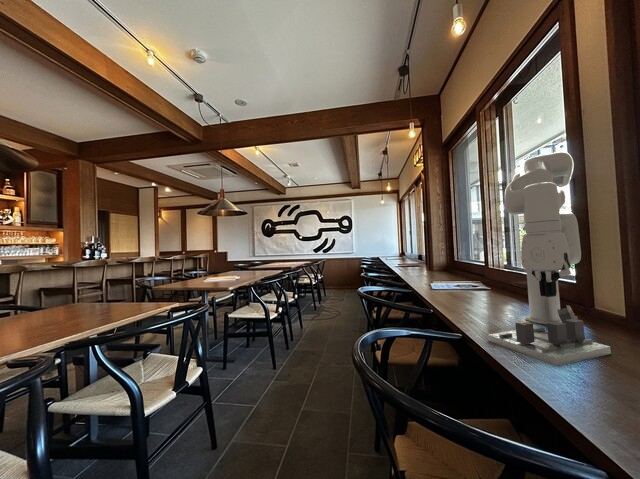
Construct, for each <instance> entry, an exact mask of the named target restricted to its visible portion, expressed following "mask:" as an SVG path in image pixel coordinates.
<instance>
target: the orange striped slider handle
mask: <svg viewBox="0 0 640 479" xmlns="http://www.w3.org/2000/svg"><path fill="white" fill-rule="evenodd" d="M533 327H534V322H530V321H528V320H526V321H525V320H524V321H523V320H522V321H517V322H516V321H515V330H516V336H517V341H518V342H521V343H524V344H528V343H533V342H535V341H534V328H533Z"/></svg>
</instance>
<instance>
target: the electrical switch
mask: <svg viewBox="0 0 640 479" xmlns="http://www.w3.org/2000/svg"><path fill="white" fill-rule="evenodd" d="M558 315H559V317H560V319H561V321H562V323H565V320H569V319H577V320H579V318H578V315H577V316H576V315H575V313H574V311H573V308H572V307H571V305H569V304H568V305H566V308H565V307H564V308H560V309H558Z"/></svg>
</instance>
